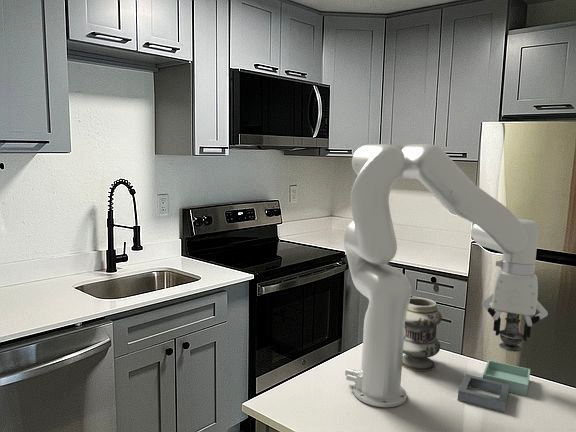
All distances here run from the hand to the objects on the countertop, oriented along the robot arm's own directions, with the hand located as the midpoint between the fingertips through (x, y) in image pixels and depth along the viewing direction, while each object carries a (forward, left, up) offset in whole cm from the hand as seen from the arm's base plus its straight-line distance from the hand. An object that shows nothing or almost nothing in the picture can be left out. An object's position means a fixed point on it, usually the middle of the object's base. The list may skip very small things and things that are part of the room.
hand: (511, 335), depth 127 cm
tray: (0, 0, -13) cm, 13 cm away
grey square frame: (-4, -12, -13) cm, 18 cm away
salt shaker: (0, 0, -3) cm, 3 cm away
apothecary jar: (-23, -2, -13) cm, 27 cm away
